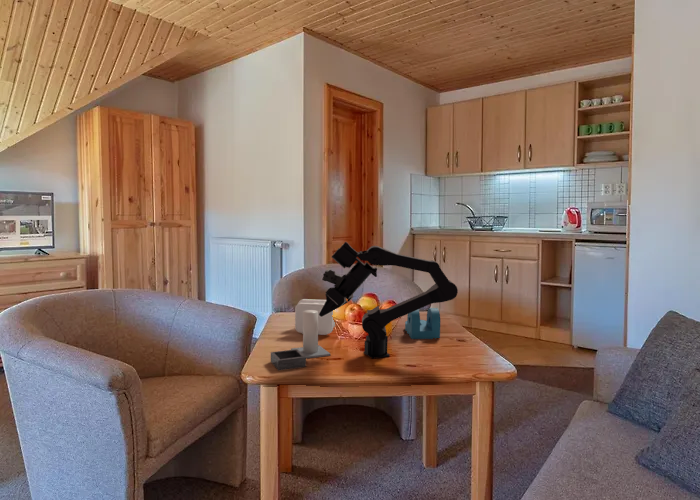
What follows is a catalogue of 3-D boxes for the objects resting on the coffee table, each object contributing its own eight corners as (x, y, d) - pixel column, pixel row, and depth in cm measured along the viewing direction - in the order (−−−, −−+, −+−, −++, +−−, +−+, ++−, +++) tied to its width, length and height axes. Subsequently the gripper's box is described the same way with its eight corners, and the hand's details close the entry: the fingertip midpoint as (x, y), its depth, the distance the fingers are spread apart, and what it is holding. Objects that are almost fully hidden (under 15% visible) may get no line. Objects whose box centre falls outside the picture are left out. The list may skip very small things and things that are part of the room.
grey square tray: (297, 358, 145) (297, 349, 145) (305, 366, 138) (306, 357, 137) (270, 361, 142) (270, 352, 142) (278, 370, 134) (278, 360, 134)
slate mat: (319, 347, 158) (319, 345, 158) (330, 355, 149) (330, 353, 149) (290, 350, 154) (290, 348, 154) (300, 359, 145) (300, 357, 144)
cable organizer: (292, 334, 174) (292, 303, 173) (299, 327, 184) (299, 298, 184) (332, 335, 172) (332, 305, 171) (336, 328, 183) (337, 299, 182)
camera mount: (439, 339, 170) (440, 311, 169) (411, 339, 170) (412, 311, 169) (428, 326, 188) (429, 301, 187) (402, 326, 187) (403, 301, 187)
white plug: (318, 348, 154) (318, 310, 152) (317, 353, 149) (317, 313, 147) (303, 348, 153) (303, 310, 152) (302, 353, 149) (302, 313, 147)
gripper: (341, 261, 158) (311, 294, 160) (330, 261, 140) (297, 299, 141) (365, 283, 157) (335, 317, 158) (358, 286, 138) (324, 324, 140)
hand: (323, 314), depth 149 cm, fingers open, 9 cm apart
